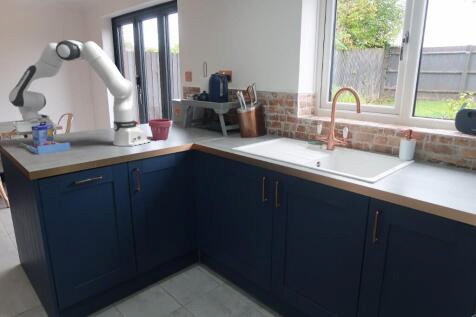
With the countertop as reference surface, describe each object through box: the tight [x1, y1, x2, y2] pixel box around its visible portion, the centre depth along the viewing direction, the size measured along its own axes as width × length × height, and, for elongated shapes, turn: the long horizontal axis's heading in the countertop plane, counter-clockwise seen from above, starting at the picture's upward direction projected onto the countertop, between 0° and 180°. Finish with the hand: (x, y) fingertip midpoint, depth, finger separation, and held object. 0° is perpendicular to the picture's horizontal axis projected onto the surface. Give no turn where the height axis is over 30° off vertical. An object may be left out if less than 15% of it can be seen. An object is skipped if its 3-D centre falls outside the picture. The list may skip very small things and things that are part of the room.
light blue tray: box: [19, 141, 71, 155], centre depth 187 cm, size 16×31×4 cm, turn 47°
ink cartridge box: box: [31, 121, 55, 149], centre depth 189 cm, size 10×6×14 cm, turn 161°
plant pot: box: [148, 118, 172, 141], centre depth 215 cm, size 14×14×13 cm
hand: (40, 138), depth 192 cm, fingers closed
